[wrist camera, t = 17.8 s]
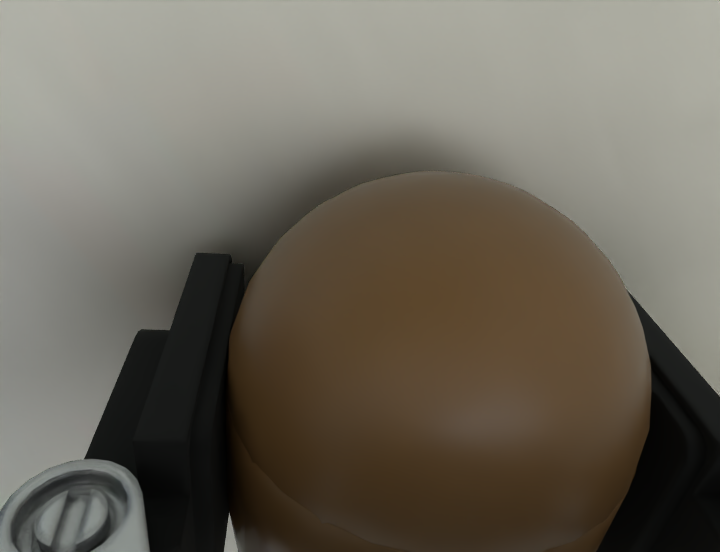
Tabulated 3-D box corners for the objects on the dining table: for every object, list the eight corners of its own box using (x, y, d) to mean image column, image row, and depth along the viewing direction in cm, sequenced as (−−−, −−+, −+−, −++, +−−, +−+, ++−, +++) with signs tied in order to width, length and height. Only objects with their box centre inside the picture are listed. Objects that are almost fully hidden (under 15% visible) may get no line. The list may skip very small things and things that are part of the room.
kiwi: (245, 102, 8) (168, 323, 4) (594, 132, 9) (894, 350, 4) (245, 471, 12) (209, 791, 8) (484, 473, 13) (579, 768, 9)
